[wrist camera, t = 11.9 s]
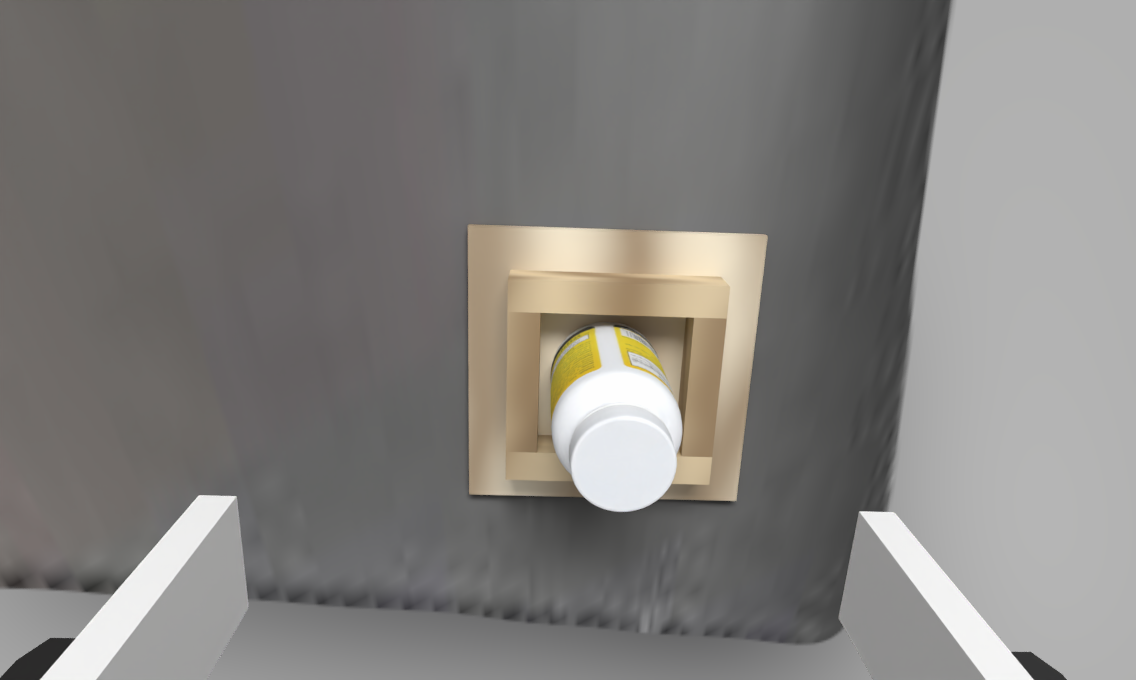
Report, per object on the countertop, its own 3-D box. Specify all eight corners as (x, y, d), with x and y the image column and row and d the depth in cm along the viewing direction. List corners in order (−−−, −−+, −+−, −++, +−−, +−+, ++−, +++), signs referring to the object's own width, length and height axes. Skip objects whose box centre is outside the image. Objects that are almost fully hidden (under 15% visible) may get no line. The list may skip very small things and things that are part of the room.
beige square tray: (470, 489, 39) (464, 514, 37) (469, 224, 35) (462, 233, 32) (734, 496, 39) (745, 521, 37) (764, 234, 35) (779, 243, 33)
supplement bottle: (551, 423, 37) (550, 530, 28) (549, 320, 36) (547, 398, 26) (658, 420, 37) (693, 527, 28) (661, 318, 36) (699, 395, 26)
